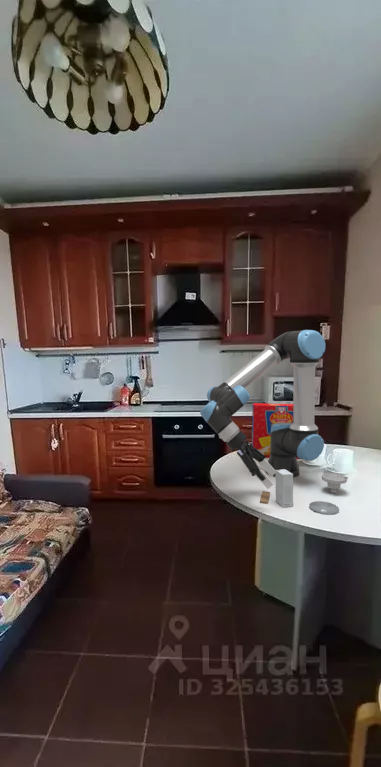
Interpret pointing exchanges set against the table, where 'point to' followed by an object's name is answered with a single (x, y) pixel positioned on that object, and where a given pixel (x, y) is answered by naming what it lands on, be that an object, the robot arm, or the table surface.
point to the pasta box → (268, 423)
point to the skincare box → (284, 488)
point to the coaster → (324, 507)
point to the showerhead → (334, 480)
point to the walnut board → (265, 497)
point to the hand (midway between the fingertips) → (272, 480)
